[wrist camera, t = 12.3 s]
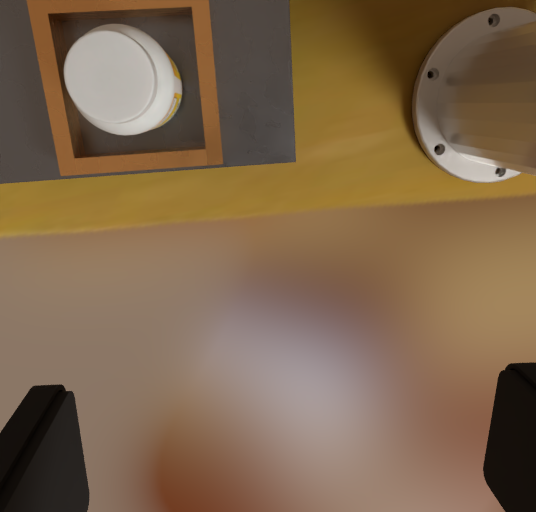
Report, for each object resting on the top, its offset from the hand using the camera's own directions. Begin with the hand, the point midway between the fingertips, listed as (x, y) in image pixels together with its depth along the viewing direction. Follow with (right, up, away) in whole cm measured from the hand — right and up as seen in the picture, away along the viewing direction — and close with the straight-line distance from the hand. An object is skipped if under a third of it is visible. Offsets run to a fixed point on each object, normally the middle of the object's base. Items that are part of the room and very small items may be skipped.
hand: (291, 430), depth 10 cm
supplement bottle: (-9, +15, +20) cm, 27 cm away
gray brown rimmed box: (-11, +16, +24) cm, 30 cm away
